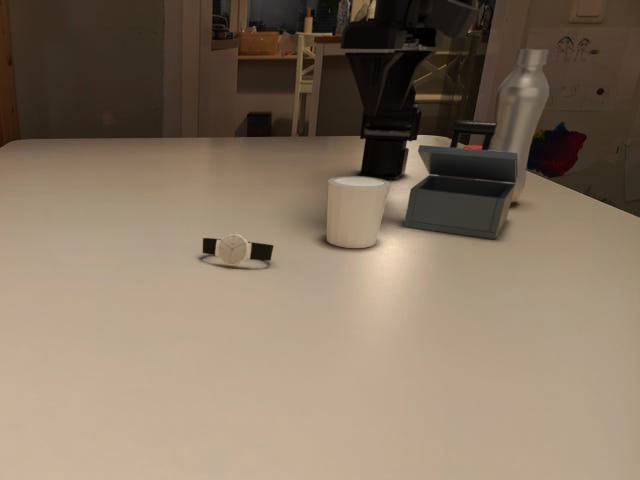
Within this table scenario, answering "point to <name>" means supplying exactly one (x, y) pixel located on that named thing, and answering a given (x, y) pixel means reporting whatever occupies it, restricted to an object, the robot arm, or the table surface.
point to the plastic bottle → (520, 109)
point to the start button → (473, 147)
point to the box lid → (471, 156)
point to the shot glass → (355, 210)
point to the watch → (236, 249)
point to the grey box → (459, 206)
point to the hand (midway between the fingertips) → (384, 112)
